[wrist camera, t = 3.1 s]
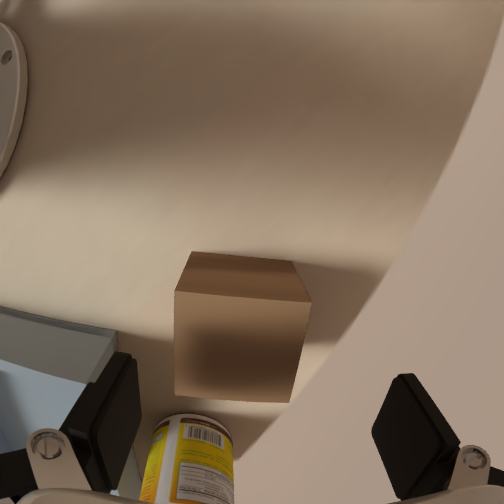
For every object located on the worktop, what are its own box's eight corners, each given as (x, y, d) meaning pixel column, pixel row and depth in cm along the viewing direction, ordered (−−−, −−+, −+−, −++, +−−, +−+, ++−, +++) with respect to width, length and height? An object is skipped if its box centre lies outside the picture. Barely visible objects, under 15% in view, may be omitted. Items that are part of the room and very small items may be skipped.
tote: (-46, 293, 16) (-87, 321, 11) (116, 330, 17) (85, 383, 12) (21, 463, 22) (5, 495, 17) (146, 501, 23) (139, 541, 18)
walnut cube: (191, 250, 16) (174, 290, 11) (290, 260, 17) (312, 302, 12) (187, 336, 18) (174, 394, 13) (276, 343, 18) (289, 402, 13)
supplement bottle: (170, 459, 21) (155, 570, 11) (142, 412, 19) (108, 540, 9) (241, 453, 21) (246, 572, 11) (222, 404, 19) (220, 547, 9)
